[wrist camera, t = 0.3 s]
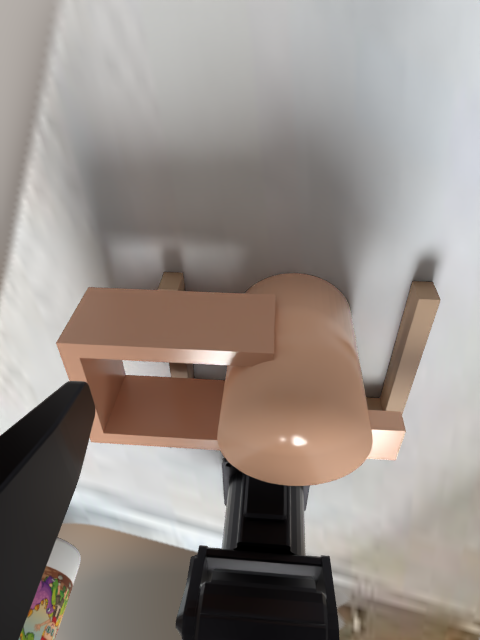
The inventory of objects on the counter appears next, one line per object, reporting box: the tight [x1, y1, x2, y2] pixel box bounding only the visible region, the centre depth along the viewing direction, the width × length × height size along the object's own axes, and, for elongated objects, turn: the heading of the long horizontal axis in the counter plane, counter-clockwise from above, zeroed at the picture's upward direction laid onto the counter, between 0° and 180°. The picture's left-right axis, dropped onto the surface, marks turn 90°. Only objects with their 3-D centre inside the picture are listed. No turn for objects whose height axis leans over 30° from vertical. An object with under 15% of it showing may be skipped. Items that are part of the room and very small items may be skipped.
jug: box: [56, 273, 406, 486], centre depth 22 cm, size 14×7×8 cm, turn 91°
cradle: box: [158, 272, 440, 414], centre depth 26 cm, size 10×14×2 cm
